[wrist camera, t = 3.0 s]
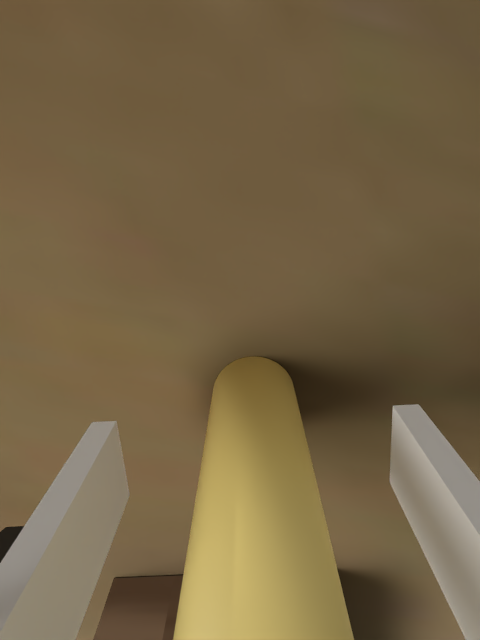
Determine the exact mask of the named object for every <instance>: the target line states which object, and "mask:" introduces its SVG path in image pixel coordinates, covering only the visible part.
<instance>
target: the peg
mask: <svg viewBox="0 0 480 640" xmlns="http://www.w3.org/2000/svg"><path fill="white" fill-rule="evenodd" d="M173 640H354V637H353V633H352V629H351V625H350V621H349V616H348V612H347V608H346V604H345V600H344V595H343V591H342V587H341V583H340V579H339V574H338V570H337V566H336V562H335V558H334V553H333V549H332V545H331V541H330V537H329V532H328V528H327V524H326V520H325V516H324V511H323V507H322V503H321V499H320V495H319V490H318V486H317V482H316V478H315V474H314V470H313V465H312V461H311V457H310V453H309V449H308V444H307V440H306V436H305V432H304V428H303V423H302V419H301V415H300V411H299V407H298V402H297V398H296V394H295V390H294V386H293V382H292V380H291V377H290V376H289V374H288V373H287V371H286V370H285V369H284V368H283V367H282V366H280V365H279V364H278V363H276V362H274V361H272V360H270V359H267V358H263V357H244V358H240V359H238V360H235V361H233V362H231V363H230V364H228V365H227V366H226V367H225V368H224V369H223V370H222V371H221V372H220V373H219V375H218V377H217V378H216V381H215V384H214V388H213V394H212V400H211V406H210V413H209V419H208V425H207V431H206V437H205V444H204V450H203V456H202V462H201V469H200V475H199V481H198V487H197V493H196V500H195V506H194V512H193V518H192V525H191V531H190V537H189V543H188V550H187V556H186V562H185V568H184V574H183V581H182V587H181V593H180V599H179V606H178V612H177V618H176V624H175V631H174V637H173Z"/></svg>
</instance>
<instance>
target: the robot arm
mask: <svg viewBox="0 0 480 640" xmlns="http://www.w3.org/2000/svg"><path fill="white" fill-rule="evenodd" d="M390 484H391V486H392V488H393V490H394V492H395V495H396V497H397V499H398V501H399V503H400V505H401V507H402V509H403V511H404V513H405V515H406V517H407V519H408V521H409V523H410V525H411V528H412V530H413V532H414V534H415V536H416V538H417V540H418V542H419V544H420V546H421V548H422V550H423V552H424V554H425V556H426V558H427V561H428V563H429V565H430V567H431V569H432V571H433V573H434V575H435V577H436V579H437V581H438V583H439V585H440V587H441V589H442V591H443V594H444V596H445V598H446V600H447V602H448V604H449V606H450V608H451V610H452V612H453V614H454V616H455V618H456V620H457V622H458V624H459V627H460V629H461V631H462V633H463V635H464V637H465V639H466V640H480V481H479V480H478V479H477V478H476V476H475V475H474V474H473V472H472V471H471V470H470V469H469V467H468V466H467V465H466V464H465V462H464V461H463V460H462V459H461V457H460V456H459V455H458V454H457V452H456V451H455V450H454V448H453V447H452V446H451V445H450V443H449V442H448V441H447V440H446V438H445V437H444V436H443V435H442V433H441V432H440V431H439V430H438V428H437V427H436V426H435V424H434V423H433V422H432V421H431V419H430V418H429V417H428V416H427V414H426V413H425V412H424V411H423V409H422V408H421V407H420V405H419V404H414V405H396V406H393V413H392V437H391V460H390ZM129 496H130V494H129V488H128V483H127V477H126V471H125V466H124V460H123V455H122V449H121V443H120V438H119V432H118V426H117V421H107V422H92V423H91V425H90V426H89V428H88V429H87V431H86V432H85V434H84V435H83V437H82V438H81V440H80V442H79V443H78V445H77V446H76V448H75V449H74V451H73V452H72V454H71V455H70V457H69V458H68V460H67V461H66V463H65V465H64V466H63V468H62V469H61V471H60V472H59V474H58V475H57V477H56V478H55V480H54V481H53V483H52V485H51V486H50V488H49V489H48V491H47V492H46V494H45V495H44V497H43V498H42V500H41V501H40V503H39V504H38V506H37V508H36V509H35V511H34V512H33V514H32V515H31V517H30V518H29V520H28V521H27V523H26V524H25V526H18V527H6V528H4V529H3V530H2V531H1V532H0V640H75V639H76V637H77V634H78V631H79V629H80V626H81V623H82V621H83V618H84V615H85V613H86V610H87V608H88V605H89V602H90V600H91V597H92V594H93V592H94V589H95V586H96V584H97V581H98V578H99V576H100V573H101V570H102V568H103V565H104V562H105V560H106V557H107V554H108V552H109V549H110V546H111V544H112V541H113V538H114V536H115V533H116V530H117V528H118V525H119V522H120V520H121V517H122V514H123V512H124V509H125V506H126V504H127V501H128V498H129Z"/></svg>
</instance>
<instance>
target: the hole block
mask: <svg viewBox="0 0 480 640" xmlns="http://www.w3.org/2000/svg"><path fill="white" fill-rule="evenodd" d="M182 581H183V575H176V576H153V577H130V578H114V580H113V583H112V586H111V589H110V592H109V595H108V598H107V601H106V604H105V607H104V610H103V613H102V616H101V619H100V622H99V625H98V628H97V631H96V634H95V636H94V639H93V640H173V637H174V631H175V624H176V618H177V612H178V606H179V599H180V593H181V587H182Z"/></svg>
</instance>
